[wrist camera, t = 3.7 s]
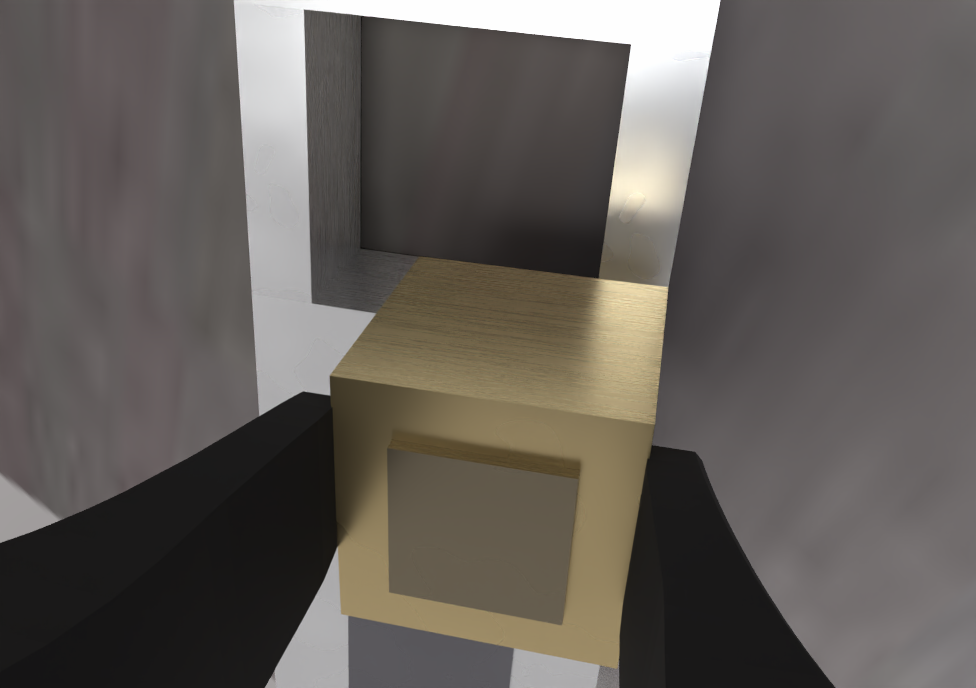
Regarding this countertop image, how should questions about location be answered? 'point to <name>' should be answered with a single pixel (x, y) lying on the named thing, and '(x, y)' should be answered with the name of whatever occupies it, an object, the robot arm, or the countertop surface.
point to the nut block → (497, 455)
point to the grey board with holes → (375, 274)
